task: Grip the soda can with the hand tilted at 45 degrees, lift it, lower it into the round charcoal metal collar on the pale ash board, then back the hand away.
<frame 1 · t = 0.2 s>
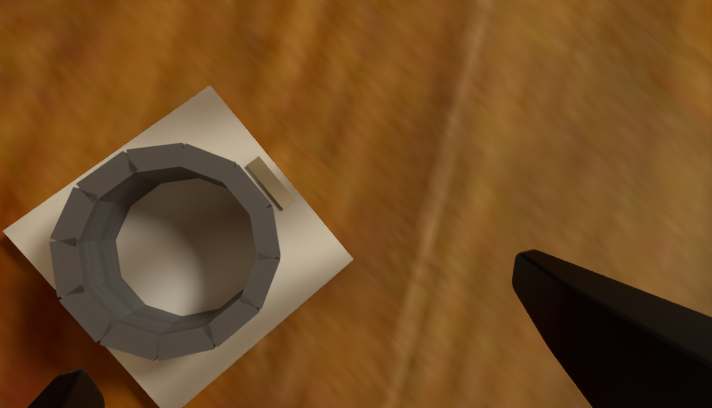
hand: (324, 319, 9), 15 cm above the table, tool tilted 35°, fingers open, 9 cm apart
collar socket: (194, 245, 22), on the table
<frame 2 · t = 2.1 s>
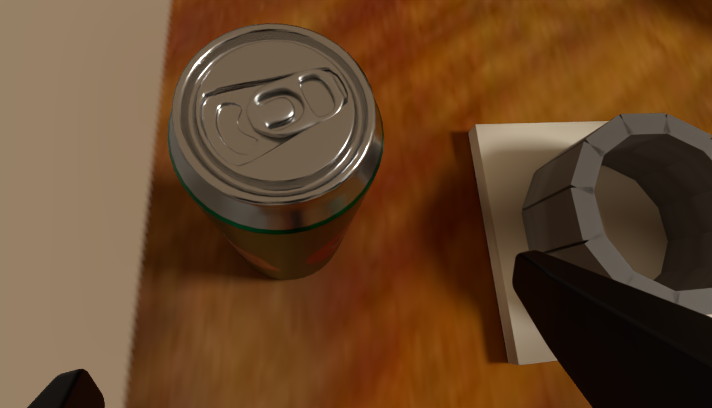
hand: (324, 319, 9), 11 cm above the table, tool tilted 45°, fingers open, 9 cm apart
collar socket: (591, 232, 22), on the table
soda can: (289, 229, 20), on the table
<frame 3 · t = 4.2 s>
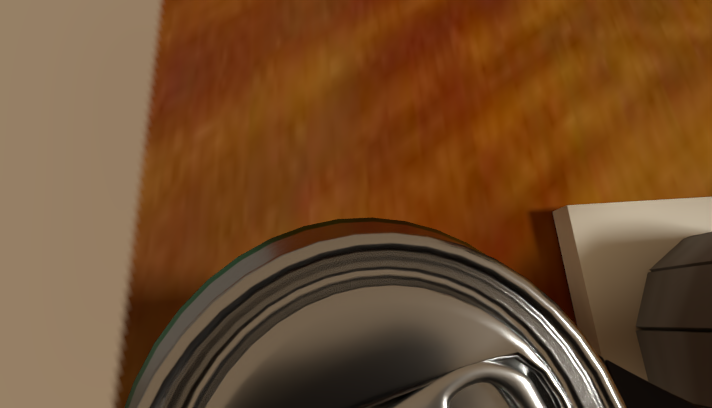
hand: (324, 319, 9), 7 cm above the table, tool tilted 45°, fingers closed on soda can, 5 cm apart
soda can: (320, 359, 15), on the table, touching gripper
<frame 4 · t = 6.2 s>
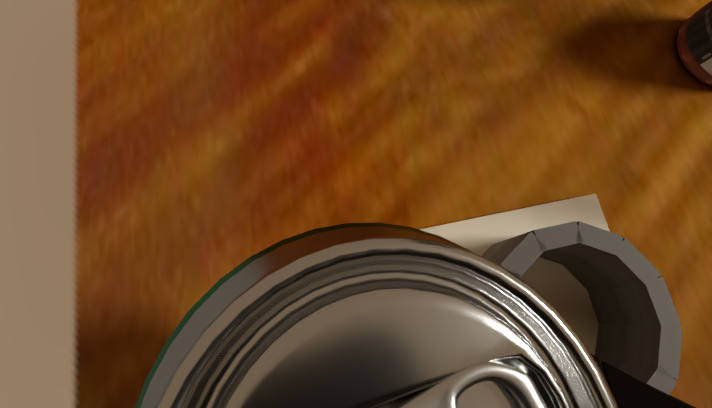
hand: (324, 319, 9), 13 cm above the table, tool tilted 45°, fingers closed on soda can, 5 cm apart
supplement bottle: (706, 56, 30), on the table
collar socket: (527, 321, 23), on the table
soda can: (304, 360, 15), point 6 cm above the table, touching gripper
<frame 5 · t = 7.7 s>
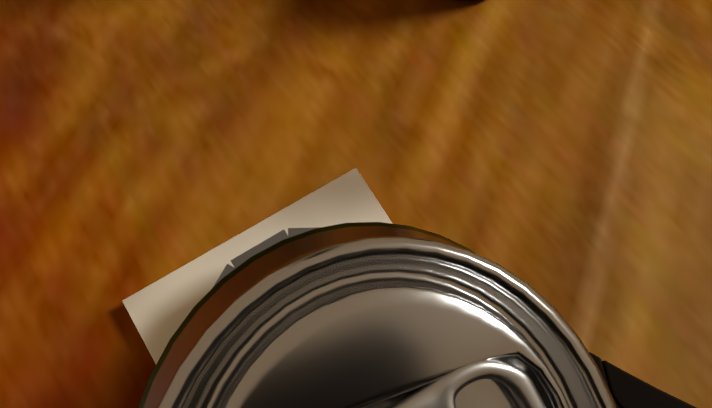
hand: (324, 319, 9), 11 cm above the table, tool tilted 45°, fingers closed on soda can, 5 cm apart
collar socket: (315, 341, 19), on the table
soda can: (309, 357, 15), point 4 cm above the table, touching gripper
when the fingers open (9 cm above the table, at t = 8.6 s): soda can stays where it is, resting on collar socket.
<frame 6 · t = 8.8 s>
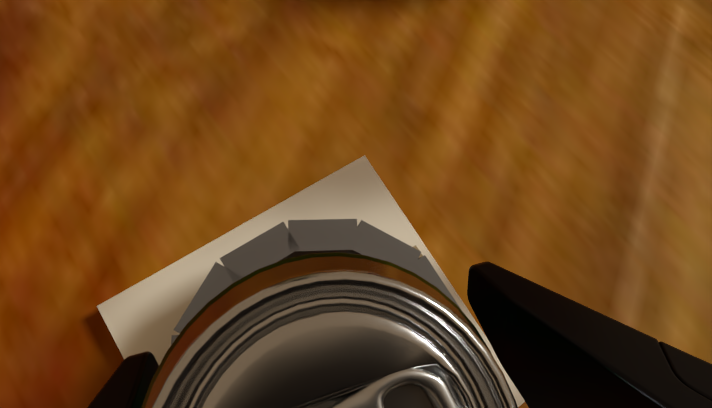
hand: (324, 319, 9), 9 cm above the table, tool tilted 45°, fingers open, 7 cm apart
collar socket: (319, 352, 17), on the table
soda can: (310, 360, 16), point 1 cm above the table, touching collar socket
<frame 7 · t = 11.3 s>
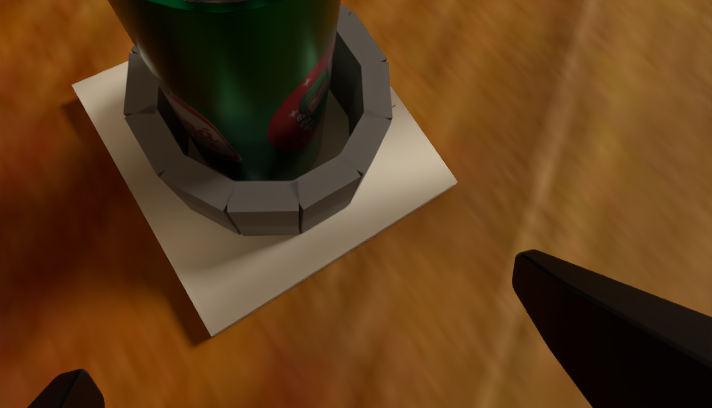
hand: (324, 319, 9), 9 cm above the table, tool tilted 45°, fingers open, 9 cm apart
collar socket: (272, 144, 19), on the table
soda can: (262, 141, 18), point 1 cm above the table, touching collar socket
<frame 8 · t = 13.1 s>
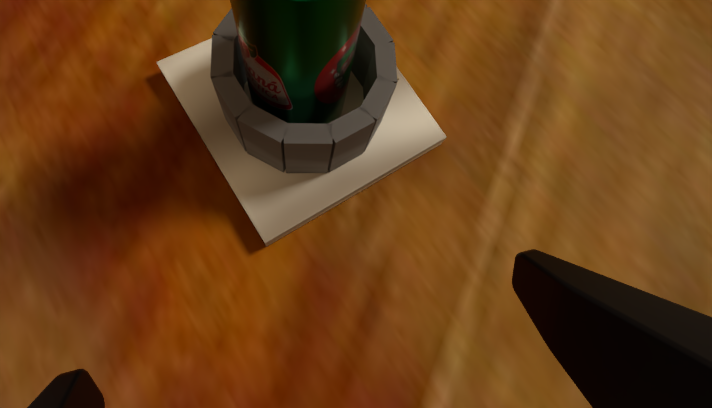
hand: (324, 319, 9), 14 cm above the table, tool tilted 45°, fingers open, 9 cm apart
collar socket: (304, 108, 25), on the table
soda can: (298, 105, 24), point 1 cm above the table, touching collar socket
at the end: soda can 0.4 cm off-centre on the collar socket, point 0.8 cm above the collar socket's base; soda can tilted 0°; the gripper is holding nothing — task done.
